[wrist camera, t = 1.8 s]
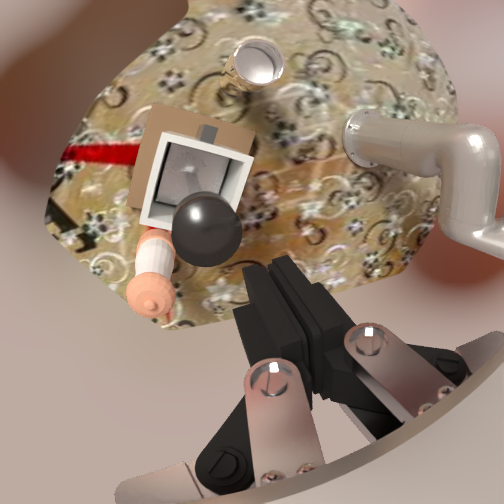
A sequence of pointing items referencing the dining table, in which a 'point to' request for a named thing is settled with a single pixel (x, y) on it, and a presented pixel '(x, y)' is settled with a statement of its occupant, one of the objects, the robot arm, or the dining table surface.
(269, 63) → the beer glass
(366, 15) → the dining table surface
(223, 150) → the white pen holder
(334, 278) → the dining table surface
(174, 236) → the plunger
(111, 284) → the dining table surface
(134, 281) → the salt shaker
